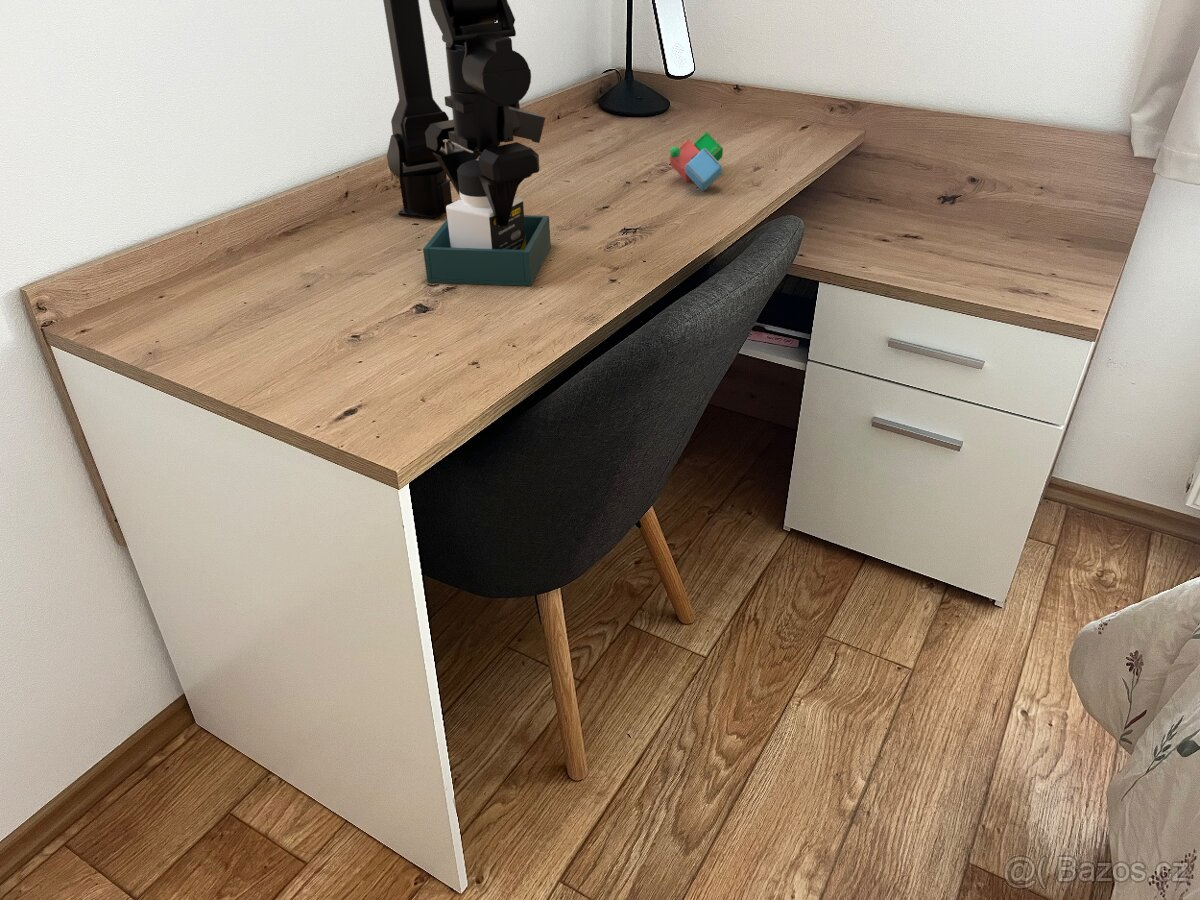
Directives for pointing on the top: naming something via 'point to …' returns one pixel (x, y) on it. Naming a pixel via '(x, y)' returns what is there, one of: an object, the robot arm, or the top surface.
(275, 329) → the top surface
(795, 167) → the top surface
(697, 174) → the building blocks
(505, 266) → the desk bin
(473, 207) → the medicine bottle
